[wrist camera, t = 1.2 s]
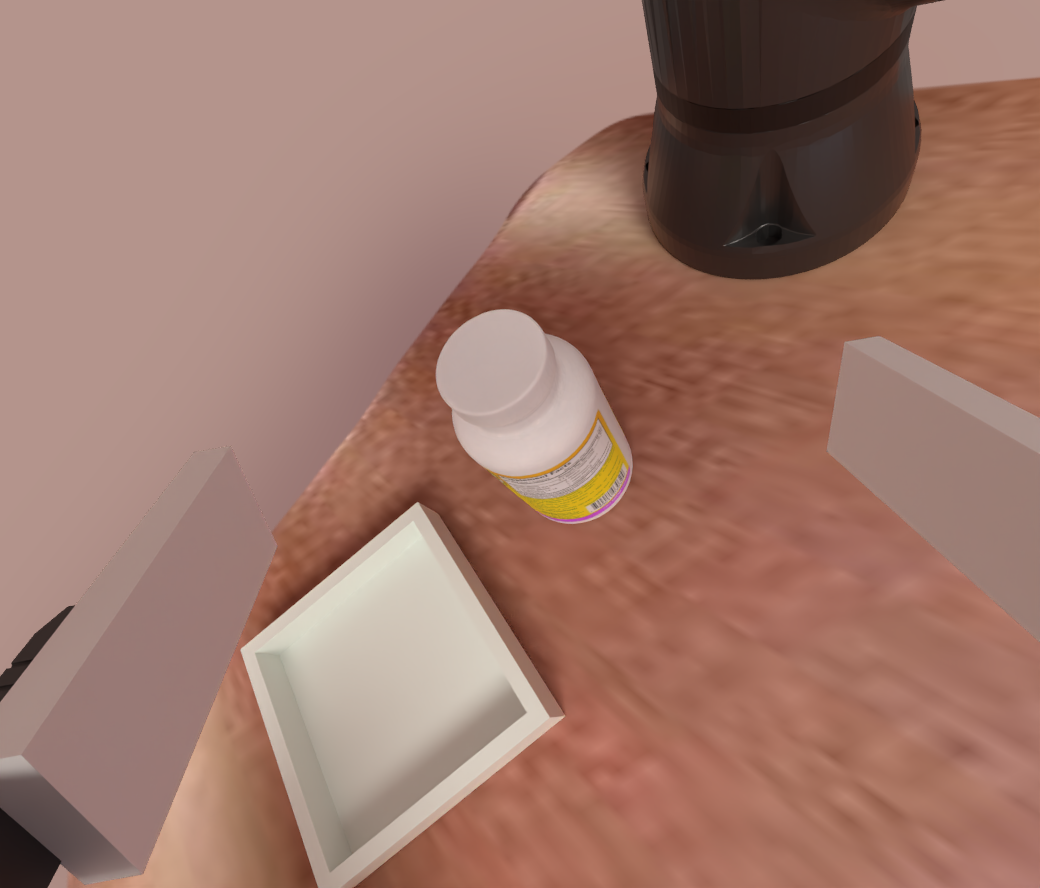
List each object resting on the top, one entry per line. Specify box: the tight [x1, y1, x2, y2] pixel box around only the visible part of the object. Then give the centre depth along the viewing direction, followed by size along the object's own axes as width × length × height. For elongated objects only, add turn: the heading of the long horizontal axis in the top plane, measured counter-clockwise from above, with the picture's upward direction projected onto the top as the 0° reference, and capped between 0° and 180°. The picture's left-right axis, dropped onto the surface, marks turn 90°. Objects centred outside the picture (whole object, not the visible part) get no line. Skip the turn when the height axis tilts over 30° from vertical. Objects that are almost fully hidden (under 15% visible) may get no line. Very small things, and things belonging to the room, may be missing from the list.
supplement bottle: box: [436, 309, 633, 524], centre depth 27 cm, size 7×7×13 cm
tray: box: [240, 502, 565, 888], centre depth 30 cm, size 14×14×2 cm
